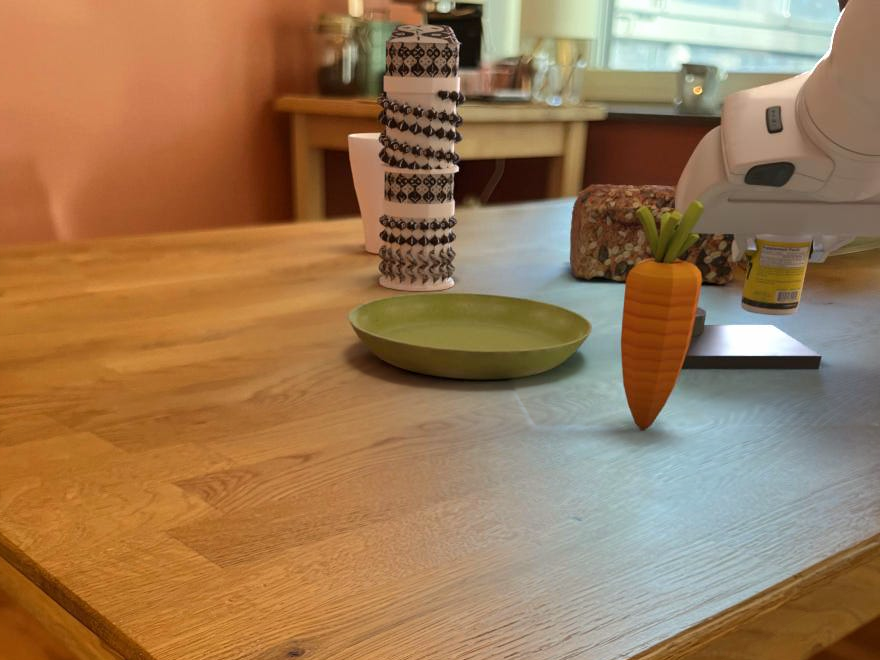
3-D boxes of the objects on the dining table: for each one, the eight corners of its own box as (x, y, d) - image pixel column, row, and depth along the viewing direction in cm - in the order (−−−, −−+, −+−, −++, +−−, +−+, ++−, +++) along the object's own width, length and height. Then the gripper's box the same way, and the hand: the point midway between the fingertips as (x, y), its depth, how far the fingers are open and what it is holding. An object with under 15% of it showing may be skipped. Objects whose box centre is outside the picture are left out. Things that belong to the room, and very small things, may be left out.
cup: (403, 261, 127) (405, 140, 120) (333, 252, 131) (331, 136, 124) (443, 249, 134) (447, 136, 128) (375, 241, 139) (375, 131, 132)
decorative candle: (443, 274, 120) (452, 26, 107) (467, 290, 112) (481, 25, 99) (367, 276, 118) (368, 24, 105) (387, 293, 110) (390, 23, 97)
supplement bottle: (747, 301, 90) (767, 198, 85) (802, 308, 88) (825, 203, 83) (733, 311, 86) (752, 204, 82) (790, 319, 84) (813, 209, 80)
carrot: (593, 429, 72) (619, 198, 64) (633, 414, 75) (663, 193, 67) (653, 446, 69) (688, 207, 61) (692, 430, 72) (731, 201, 64)
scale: (766, 335, 97) (772, 303, 95) (818, 370, 86) (827, 334, 85) (627, 335, 96) (631, 302, 94) (663, 369, 85) (669, 333, 84)
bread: (573, 282, 117) (582, 188, 112) (565, 265, 126) (573, 177, 121) (736, 287, 116) (753, 192, 111) (717, 270, 125) (732, 182, 120)
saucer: (326, 381, 81) (325, 340, 79) (369, 321, 98) (370, 287, 97) (590, 397, 78) (595, 355, 77) (586, 333, 96) (589, 298, 94)
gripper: (988, 99, 73) (894, 224, 86) (705, 93, 72) (654, 220, 86) (1001, 173, 71) (903, 290, 85) (711, 168, 71) (658, 285, 84)
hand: (775, 254), depth 85 cm, fingers closed on supplement bottle, 5 cm apart
